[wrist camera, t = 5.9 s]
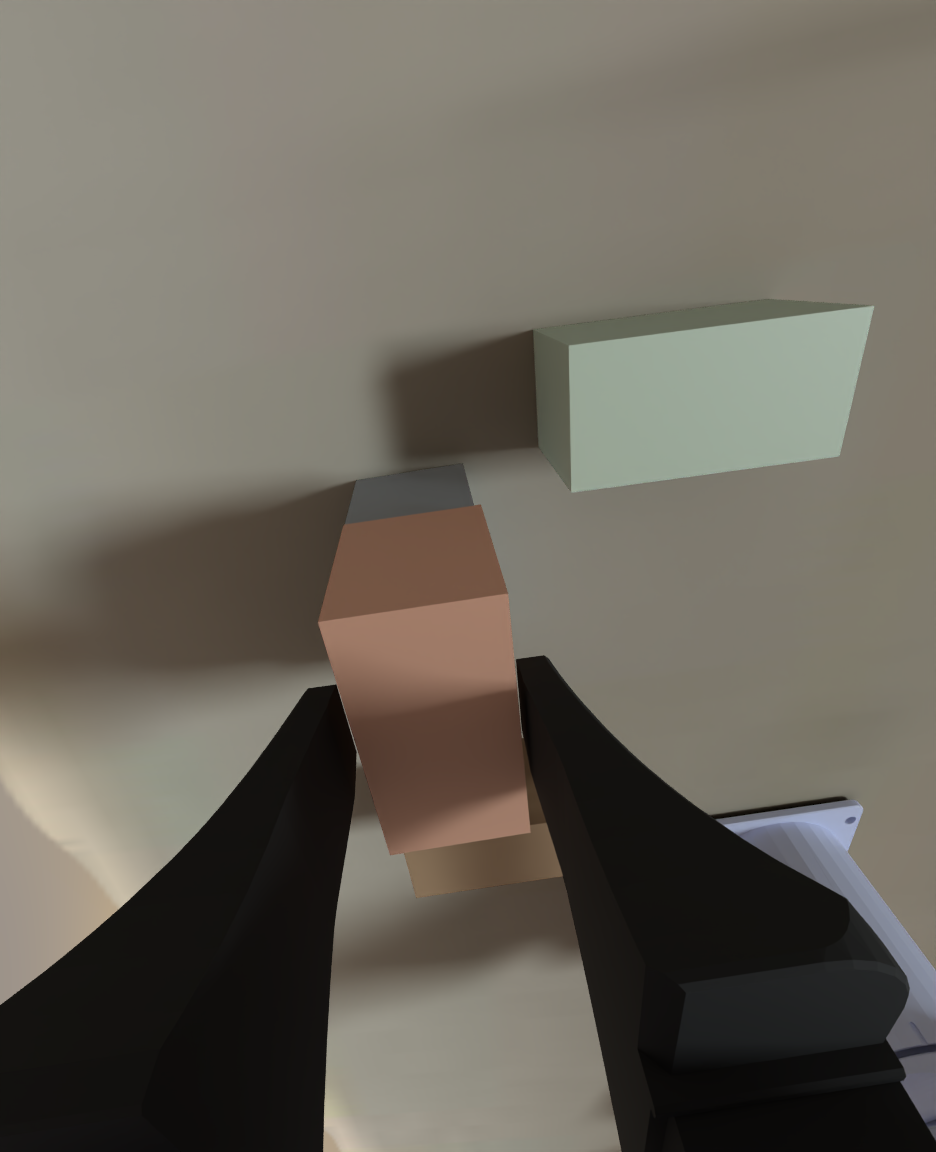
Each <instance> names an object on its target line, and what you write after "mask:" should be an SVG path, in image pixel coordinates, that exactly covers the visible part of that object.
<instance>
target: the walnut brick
mask: <svg viewBox="0 0 936 1152" xmlns="http://www.w3.org/2000/svg"><path fill="white" fill-rule="evenodd" d="M522 747H523V757H524V768H525V779H526V789H527V800H528V810H529V821H530V832H531V833H525V834H519V835H513V836H506V837H500V838H494V839H488V840H482V841H475V842H469V843H463V844H457V845H451V846H444V847H438V848H432V849H426V850H419V851H413V852H407V853H404V855H405V858H406V862H407V866H408V869H409V873H410V877H411V880H412V884H413V888H414V891H415V895H416V898H420V897H426V896H433V895H440V894H447V893H453V892H460V891H467V890H474V889H480V888H487V887H494V886H500V885H507V884H514V883H521V882H527V881H534V880H541V879H548V878H554V877H561V876H563V875H562V871H561V868H560V864H559V861H558V858H557V855H556V852H555V849H554V845H553V842H552V839H551V836H550V833H549V829H548V826H547V823H546V820H545V817H544V814H543V810H542V807H541V804H540V801H539V798H538V794H537V791H536V788H535V785H534V781H533V778H532V775H531V772H530V767H529V762H528V757H527V752H526V747H525V742H524V738H522Z"/></svg>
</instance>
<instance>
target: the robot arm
mask: <svg viewBox="0 0 936 1152" xmlns="http://www.w3.org/2000/svg"><path fill="white" fill-rule="evenodd" d="M516 665H517V676H518V688H519V700H520V712H521V724H522V732H523V737H524V742H525V747H526V752H527V757H528V762H529V767H530V772H531V775H532V778H533V781H534V785H535V788H536V791H537V794H538V798H539V801H540V804H541V807H542V810H543V814H544V817H545V820H546V823H547V826H548V829H549V833H550V836H551V839H552V842H553V845H554V849H555V852H556V855H557V858H558V861H559V864H560V868H561V871H562V875H563V878H564V882H565V886H566V889H567V893H568V897H569V902H570V906H571V911H572V916H573V920H574V925H575V929H576V934H577V938H578V943H579V947H580V952H581V957H582V961H583V966H584V971H585V975H586V980H587V985H588V989H589V994H590V999H591V1003H592V1008H593V1013H594V1018H595V1022H596V1027H597V1032H598V1037H599V1042H600V1047H601V1051H602V1056H603V1061H604V1066H605V1071H606V1076H607V1081H608V1086H609V1091H610V1096H611V1100H612V1105H613V1110H614V1115H615V1120H616V1125H617V1130H618V1135H619V1140H620V1145H621V1150H622V1152H936V970H935V969H934V967H933V966H932V965H931V963H930V962H929V961H928V959H927V958H926V957H925V955H924V954H923V953H922V951H921V950H920V949H919V947H918V946H917V945H916V943H915V942H914V941H913V939H912V938H911V937H910V935H909V934H908V933H907V931H906V930H905V929H904V927H903V926H902V925H901V923H900V922H899V921H898V919H897V918H896V917H895V915H894V914H893V913H892V911H891V910H890V909H889V907H888V906H887V905H886V903H885V902H884V900H883V899H882V898H881V896H880V895H879V894H878V892H877V891H876V890H875V888H874V887H873V886H872V884H871V883H870V882H869V880H868V879H867V878H866V876H865V875H864V874H863V872H862V871H861V870H860V868H859V867H858V866H857V864H856V863H855V862H854V860H853V859H852V858H851V856H850V855H849V854H848V852H847V851H848V849H849V846H850V844H851V841H852V838H853V836H854V833H855V831H856V828H857V825H858V823H859V820H860V817H861V815H862V812H863V808H862V806H861V805H860V804H859V803H858V802H857V801H856V800H844V801H837V802H831V803H824V804H817V805H810V806H803V807H796V808H790V809H783V810H776V811H769V812H762V813H756V814H749V815H742V816H735V817H728V818H722V819H714V818H712V817H711V816H709V815H708V814H707V813H705V812H704V811H702V810H701V809H699V808H698V807H696V806H695V805H694V804H692V803H691V802H690V801H688V800H687V799H686V798H684V797H683V796H682V795H681V794H679V793H678V792H677V791H676V790H674V789H673V788H672V787H670V786H669V785H668V784H667V783H665V782H664V781H663V780H662V779H661V778H659V777H658V776H657V775H656V774H655V773H653V772H652V771H651V770H650V769H649V768H648V767H646V766H645V765H644V764H643V763H642V762H641V761H640V760H639V759H637V758H636V757H635V756H634V755H633V754H632V753H631V752H630V751H629V750H628V749H627V748H626V747H625V746H624V745H623V744H622V743H621V742H619V741H618V740H617V739H616V738H615V737H614V736H613V735H612V734H611V733H610V732H609V731H608V730H607V729H606V727H605V726H604V725H603V724H602V723H601V722H600V721H599V720H598V719H597V718H596V717H595V716H594V715H593V713H592V712H591V711H590V710H589V709H588V708H587V707H586V706H585V705H584V704H583V702H582V701H581V700H580V699H579V698H578V697H577V695H576V694H575V693H574V692H573V690H572V689H571V688H570V687H569V686H568V684H567V683H566V682H565V681H564V679H563V678H562V677H561V675H560V674H559V673H558V671H557V670H556V668H555V667H554V666H553V664H552V663H551V661H550V660H549V659H548V658H547V657H546V656H544V655H543V656H536V657H529V658H522V659H516ZM356 753H357V752H356V749H355V745H354V742H353V739H352V735H351V732H350V729H349V725H348V722H347V719H346V715H345V712H344V709H343V705H342V702H341V699H340V695H339V692H338V689H337V685H330V686H322V687H315V688H308V689H307V691H306V692H305V693H304V694H303V696H302V697H301V699H300V700H299V702H298V703H297V704H296V706H295V707H294V709H293V710H292V712H291V713H290V715H289V716H288V718H287V719H286V720H285V722H284V723H283V725H282V726H281V728H280V729H279V731H278V732H277V733H276V735H275V736H274V738H273V739H272V740H271V742H270V743H269V745H268V746H267V747H266V749H265V750H264V751H263V753H262V754H261V755H260V757H259V758H258V760H257V761H256V762H255V764H254V765H253V766H252V768H251V769H250V770H249V772H248V773H247V774H246V775H245V777H244V778H243V779H242V780H241V782H240V783H239V784H238V785H237V787H236V788H235V789H234V790H233V792H232V793H231V794H230V795H229V796H228V798H227V799H226V800H225V801H224V803H223V804H222V805H221V806H220V808H219V809H218V810H217V811H216V812H215V813H214V815H213V816H212V817H211V818H210V819H209V820H208V821H207V823H206V824H205V825H204V826H203V827H202V828H201V829H200V830H199V831H198V833H197V834H196V835H195V836H194V837H193V838H192V839H191V840H190V841H189V842H188V843H187V844H186V845H185V846H184V847H183V848H182V850H181V851H180V852H179V853H178V854H177V855H176V856H175V857H174V858H173V859H172V860H171V861H170V862H169V863H168V864H166V865H165V866H164V867H163V868H162V869H161V870H160V871H159V872H158V873H157V874H156V875H155V876H154V877H153V878H152V879H151V880H150V881H149V882H148V883H146V884H145V885H144V886H143V887H142V888H141V889H140V890H139V891H138V892H137V893H136V894H135V895H134V896H133V897H132V898H131V899H130V900H129V901H128V902H126V903H125V904H124V905H123V906H122V907H121V908H120V909H119V910H118V911H116V912H115V913H114V914H113V915H112V916H111V917H110V918H108V919H107V920H106V921H105V922H104V923H103V924H101V925H100V926H99V927H98V928H97V929H96V930H95V931H93V932H92V933H91V934H90V935H89V936H87V937H86V938H85V939H84V940H83V941H82V942H80V943H79V944H78V945H77V946H75V947H74V948H73V949H72V950H71V951H69V952H68V953H67V954H66V955H65V956H63V957H62V958H61V959H60V960H58V961H57V962H56V963H55V964H53V965H52V966H51V967H50V968H48V969H47V970H46V971H45V972H43V973H42V974H41V975H39V976H38V977H37V978H36V979H34V980H33V981H31V982H30V983H29V984H27V985H26V986H25V987H24V988H22V989H21V990H20V991H18V992H17V993H16V994H14V995H13V996H12V997H10V998H9V999H8V1000H6V1001H5V1002H4V1003H2V1004H1V1005H0V1152H323V1133H324V1100H325V1076H326V1051H327V1031H328V1013H329V996H330V979H331V965H332V951H333V938H334V926H335V918H336V910H337V902H338V896H339V890H340V884H341V878H342V872H343V866H344V860H345V854H346V848H347V842H348V836H349V830H350V824H351V817H352V811H353V805H354V798H355V781H356Z"/></svg>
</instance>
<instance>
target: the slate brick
mask: <svg viewBox="0 0 936 1152" xmlns="http://www.w3.org/2000/svg"><path fill="white" fill-rule="evenodd" d="M468 506H474V503H473V500H472V496H471V492H470V488H469V485H468V481H467V477H466V473H465V470H464V466H463V463H462V464H456V465H449V466H443V467H437V468H431V469H424V470H418V471H412V472H405V473H399V474H393V475H387V476H380V477H374V478H368V479H362V480H356V483H355V487H354V491H353V495H352V499H351V502H350V506H349V510H348V514H347V517H346V521H345V524H351V523H358V522H365V521H372V520H379V519H386V518H393V517H399V516H406V515H413V514H420V513H427V512H434V511H440V510H447V509H454V508H461V507H468Z"/></svg>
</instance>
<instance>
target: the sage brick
mask: <svg viewBox="0 0 936 1152" xmlns="http://www.w3.org/2000/svg"><path fill="white" fill-rule="evenodd" d="M873 309H874V306H872V305H856V304H840V303H824V302H808V301H792V300H776V299H764V300H757V301H749V302H741V303H734V304H726V305H718V306H710V307H703V308H695V309H687V310H680V311H672V312H664V313H657V314H649V315H641V316H633V317H626V318H618V319H610V320H603V321H595V322H587V323H579V324H572V325H564V326H556V327H549V328H541V329H533V339H534V360H535V381H536V403H537V424H538V445H539V448H540V450H541V451H542V453H543V454H544V455H545V457H546V458H547V459H548V461H549V462H550V464H551V465H552V466H553V468H554V469H555V471H556V472H557V473H558V475H559V476H560V478H561V479H562V480H563V482H564V483H565V485H566V486H567V487H568V489H569V490H570V491H571V493H573V492H580V491H588V490H595V489H603V488H610V487H617V486H625V485H632V484H639V483H647V482H654V481H661V480H669V479H676V478H684V477H691V476H698V475H706V474H713V473H720V472H728V471H735V470H742V469H750V468H757V467H765V466H772V465H779V464H787V463H794V462H801V461H809V460H816V459H823V458H831V457H838V456H840V451H841V447H842V443H843V439H844V434H845V430H846V426H847V421H848V417H849V413H850V408H851V404H852V400H853V395H854V391H855V387H856V382H857V378H858V374H859V369H860V365H861V361H862V356H863V352H864V348H865V344H866V339H867V335H868V331H869V326H870V322H871V318H872V313H873Z"/></svg>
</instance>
